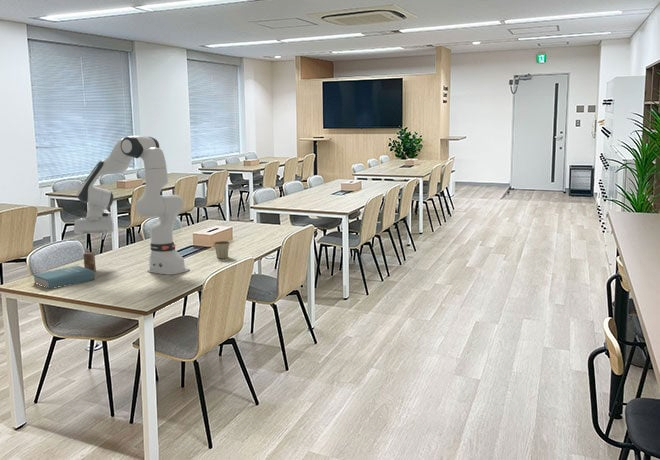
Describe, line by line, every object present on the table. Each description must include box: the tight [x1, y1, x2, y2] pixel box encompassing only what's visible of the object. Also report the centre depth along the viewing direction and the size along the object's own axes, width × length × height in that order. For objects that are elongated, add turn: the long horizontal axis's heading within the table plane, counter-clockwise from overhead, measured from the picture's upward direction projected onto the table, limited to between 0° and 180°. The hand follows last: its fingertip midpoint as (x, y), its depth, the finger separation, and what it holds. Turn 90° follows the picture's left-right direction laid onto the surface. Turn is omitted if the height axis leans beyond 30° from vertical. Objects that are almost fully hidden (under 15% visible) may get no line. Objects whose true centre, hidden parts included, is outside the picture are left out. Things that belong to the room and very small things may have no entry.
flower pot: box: [213, 240, 231, 259], centre depth 344 cm, size 9×9×9 cm
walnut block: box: [83, 251, 97, 273], centre depth 312 cm, size 4×4×10 cm
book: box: [32, 265, 96, 290], centre depth 294 cm, size 23×16×5 cm
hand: (92, 238), depth 322 cm, fingers open, 8 cm apart
